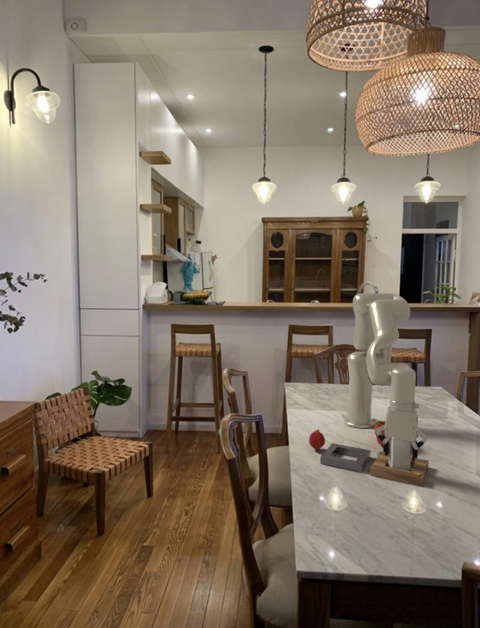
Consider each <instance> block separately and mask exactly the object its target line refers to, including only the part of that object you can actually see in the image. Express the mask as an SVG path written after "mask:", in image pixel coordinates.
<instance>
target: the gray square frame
mask: <svg viewBox="0 0 480 628" xmlns="http://www.w3.org/2000/svg"><path fill="white" fill-rule="evenodd" d="M371 452H372V451H371V449H366V448H365V449H364V448H361V447H356V446H355V447H354V446H349V445H344V444H338V443H334V442H333V443H331V444H330V445H329V447H327V448H326V450H324V452H323V453H322V455H321V456H320V463H319V464H321V465H324V466H328V467H329V466H330V467H334V468H338V469H344V470H348V471H354V472H358V473H362V472H363V471H364V469H365V467H366V465H367V463H368V462H369V460H370V459H371V455H372V453H371ZM337 454H338V455H343V456H344V455H345V456H349V457H353V458H356V459H349V458H345V457H340V456H339V457H338V456H336V455H337Z"/></svg>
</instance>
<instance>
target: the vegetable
mask: <svg viewBox="0 0 480 628" xmlns="http://www.w3.org/2000/svg"><path fill="white" fill-rule="evenodd" d="M385 421H386V420H383V421H382V420H377V421H374V422H375V425H374V426H373V428H374V435H375V437H376V441H377V442H378V444H379V445H380V446H382V447H383V443H382V441H381V440H380V439H379V437H378V435H377V434H376V432H375V429H376V428H378V427H380V426H382V425H384V424H385ZM384 432H385V429H384V430H382V431H381V433H382V434H383V435H384V437H386V436H385V433H384ZM388 442H389V440H388Z"/></svg>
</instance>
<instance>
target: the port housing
mask: <svg viewBox="0 0 480 628" xmlns="http://www.w3.org/2000/svg"><path fill="white" fill-rule="evenodd" d="M388 458H389V453H388V455H387V456H385V452H383V451H379V452H378V453H377V457H376V459H374V462H373V463H371V466H370V468H369V472H370V473H369V475H370V476H372V477H377V478H381V479H387V480H391V481H395V482H400V483H406V484H411V485H414V486H419V487H423V486H424V483H425V477H426V474H427V473H426V472H428V470H429V459H424V458H419V457H417V458H415V461H412V456H411V458H410V469H412V470H410V471H406V470H401V469H396V468H391V467H388Z"/></svg>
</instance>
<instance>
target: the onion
mask: <svg viewBox="0 0 480 628" xmlns="http://www.w3.org/2000/svg"><path fill="white" fill-rule="evenodd" d="M308 443H309V445H310V446H311V447H312V449H314V450H316V451H318V450H320V449H321V448H323V447H324V445H325V444H326V438H325V436H324V434H323V433H322V432H320V429H319V428H317V429H316V430H314V431H313V432H311V434H309V437H308Z"/></svg>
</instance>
